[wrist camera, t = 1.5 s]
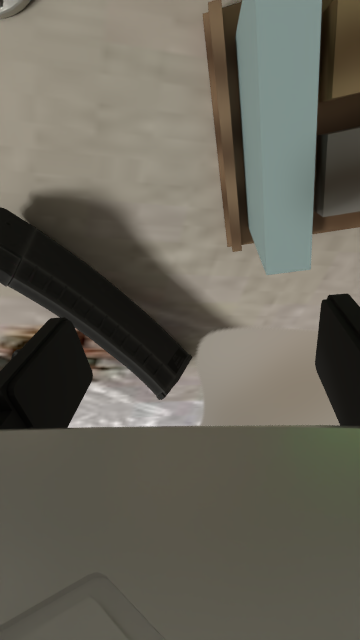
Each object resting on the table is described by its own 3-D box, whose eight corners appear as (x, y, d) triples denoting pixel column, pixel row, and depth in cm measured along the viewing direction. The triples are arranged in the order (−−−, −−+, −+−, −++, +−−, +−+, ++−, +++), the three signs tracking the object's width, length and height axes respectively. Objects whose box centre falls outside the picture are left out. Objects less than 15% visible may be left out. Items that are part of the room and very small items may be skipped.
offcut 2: (317, 135, 28) (327, 134, 25) (363, 125, 27) (378, 123, 24) (314, 210, 31) (322, 217, 29) (354, 204, 30) (367, 210, 28)
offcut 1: (323, 12, 23) (338, -6, 21) (377, -3, 23) (401, -25, 20) (319, 103, 26) (332, 98, 24) (367, 92, 26) (386, 85, 23)
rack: (203, 18, 25) (201, 4, 23) (411, -45, 22) (437, -69, 20) (227, 244, 35) (228, 252, 33) (373, 222, 32) (386, 229, 30)
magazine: (202, 405, 37) (-74, 286, 21) (185, 416, 39) (-87, 313, 23) (185, 315, 50) (2, 198, 34) (173, 326, 51) (-9, 218, 35)
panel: (235, 37, 25) (253, -58, 13) (271, 27, 24) (325, -82, 12) (248, 226, 33) (266, 275, 21) (275, 221, 32) (310, 269, 20)
